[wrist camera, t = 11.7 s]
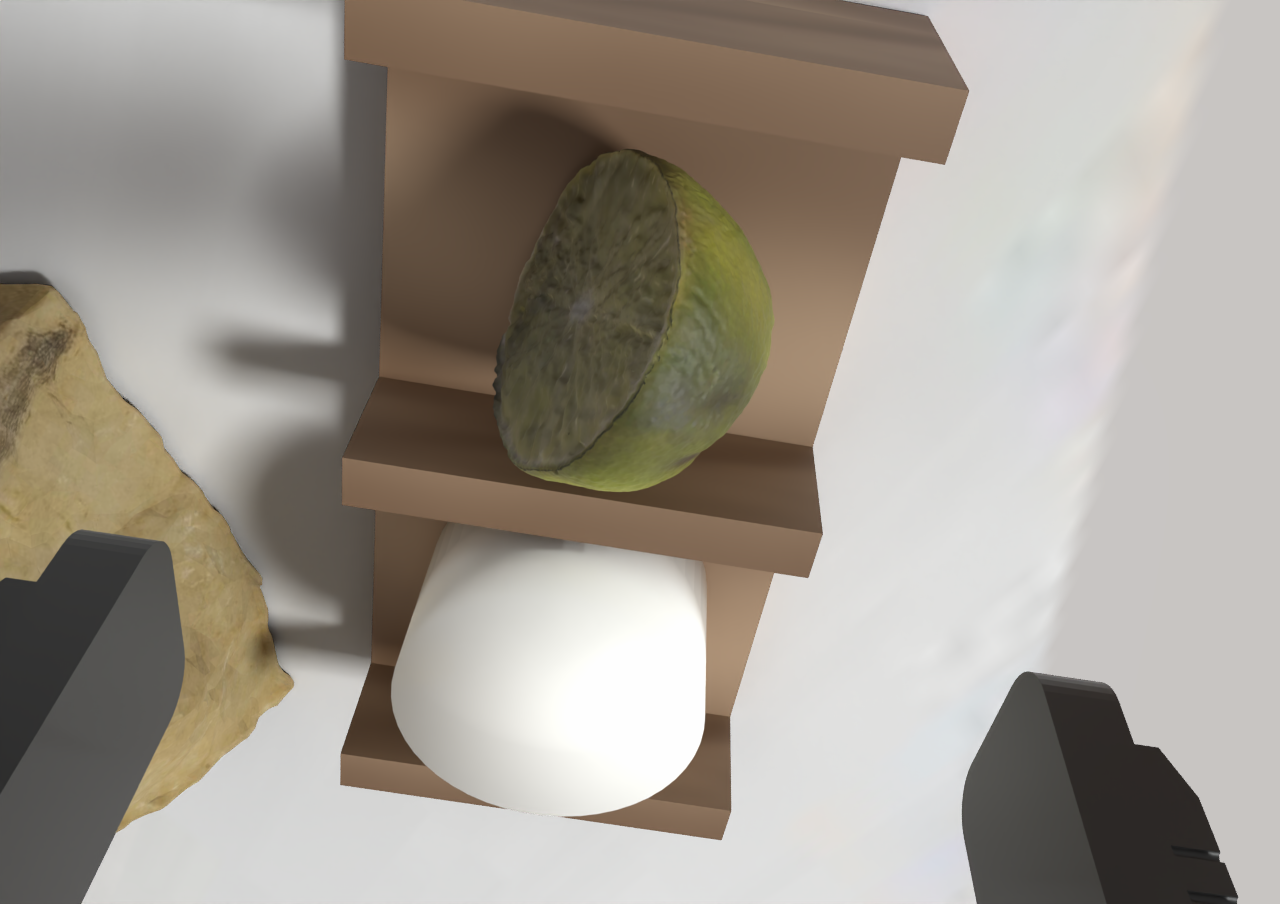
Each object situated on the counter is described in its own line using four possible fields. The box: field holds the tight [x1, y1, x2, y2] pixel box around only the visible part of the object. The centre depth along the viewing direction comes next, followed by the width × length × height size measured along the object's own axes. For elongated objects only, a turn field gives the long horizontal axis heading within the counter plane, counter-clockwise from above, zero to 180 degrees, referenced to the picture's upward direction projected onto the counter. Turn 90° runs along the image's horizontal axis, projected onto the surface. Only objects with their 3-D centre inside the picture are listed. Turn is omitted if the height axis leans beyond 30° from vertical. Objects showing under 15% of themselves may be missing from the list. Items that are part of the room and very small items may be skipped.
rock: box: [0, 284, 294, 832], centre depth 21 cm, size 11×9×10 cm
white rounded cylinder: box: [391, 522, 707, 817], centre depth 22 cm, size 6×6×4 cm
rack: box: [340, 0, 969, 840], centre depth 20 cm, size 16×8×4 cm, turn 171°
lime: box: [492, 149, 775, 492], centre depth 17 cm, size 4×5×5 cm
